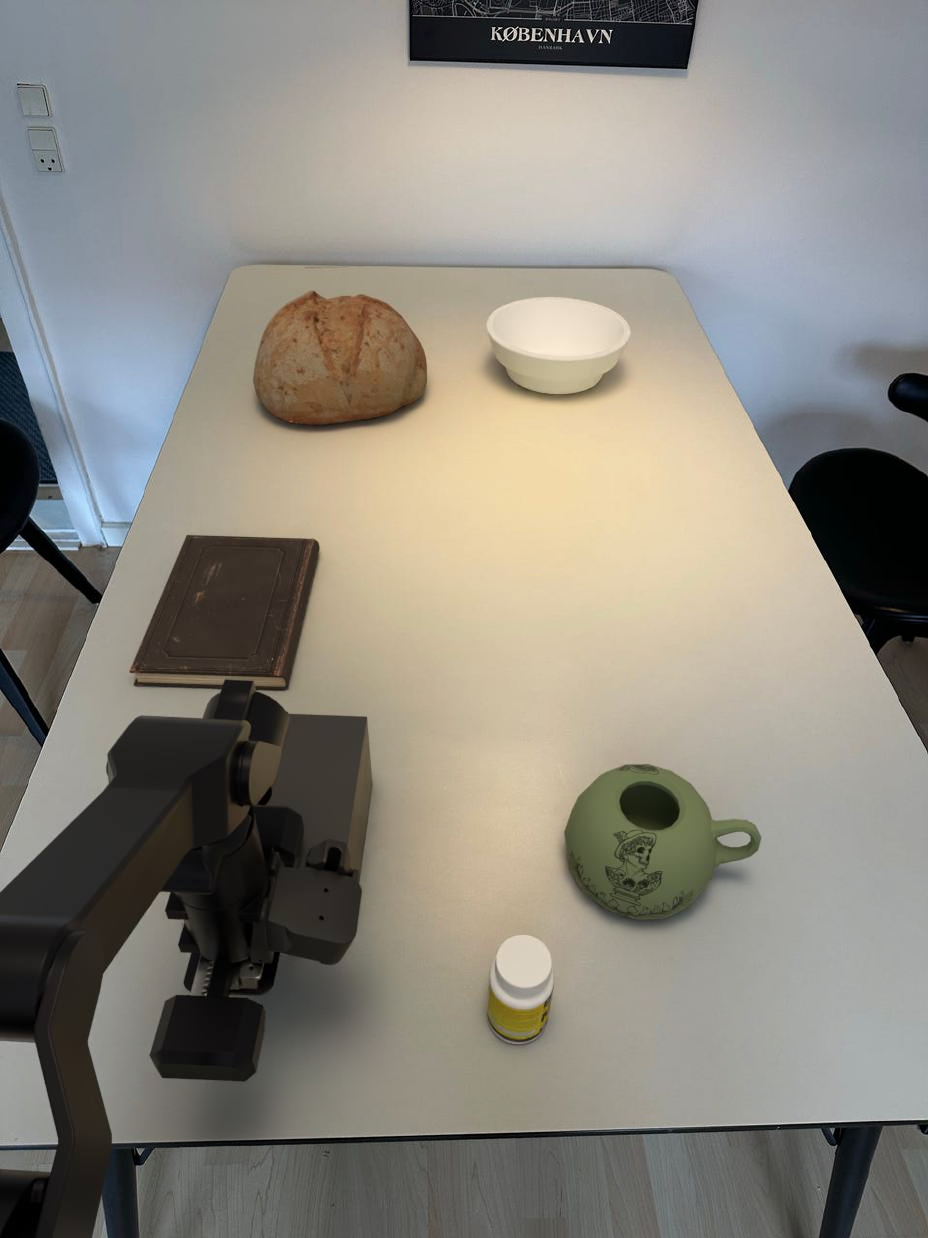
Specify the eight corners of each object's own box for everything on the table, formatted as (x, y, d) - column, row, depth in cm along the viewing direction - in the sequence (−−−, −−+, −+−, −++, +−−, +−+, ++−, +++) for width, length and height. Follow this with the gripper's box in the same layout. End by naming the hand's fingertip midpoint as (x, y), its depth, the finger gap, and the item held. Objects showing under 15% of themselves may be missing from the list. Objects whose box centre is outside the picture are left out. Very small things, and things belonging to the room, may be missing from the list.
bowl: (580, 335, 157) (585, 287, 151) (650, 394, 142) (659, 343, 136) (461, 357, 150) (462, 308, 144) (522, 421, 135) (526, 369, 129)
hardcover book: (134, 686, 93) (129, 670, 92) (190, 549, 110) (186, 534, 109) (288, 691, 93) (285, 675, 92) (320, 553, 110) (318, 538, 109)
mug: (554, 917, 75) (564, 859, 69) (566, 792, 84) (576, 731, 78) (751, 948, 73) (778, 890, 67) (740, 817, 83) (763, 757, 77)
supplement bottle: (549, 1046, 67) (559, 995, 61) (486, 1045, 67) (490, 993, 61) (546, 984, 71) (555, 929, 65) (485, 983, 71) (489, 928, 65)
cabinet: (353, 928, 74) (344, 863, 67) (200, 922, 74) (177, 856, 68) (372, 784, 85) (367, 716, 78) (239, 779, 85) (222, 710, 78)
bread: (420, 356, 150) (419, 265, 140) (436, 428, 133) (436, 331, 123) (259, 363, 147) (245, 271, 137) (253, 438, 130) (238, 340, 120)
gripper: (324, 1024, 49) (345, 1131, 59) (365, 756, 63) (375, 880, 73) (120, 1016, 49) (176, 1123, 59) (206, 750, 63) (239, 875, 73)
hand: (252, 988), depth 66 cm, fingers closed
